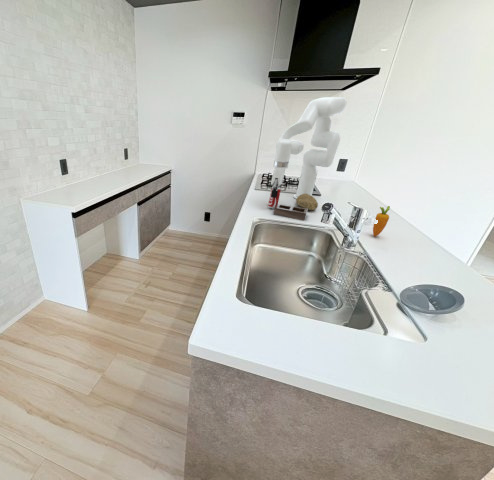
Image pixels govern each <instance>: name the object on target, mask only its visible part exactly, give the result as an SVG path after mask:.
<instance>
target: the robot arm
mask: <svg viewBox="0 0 494 480" xmlns="http://www.w3.org/2000/svg"><path fill="white" fill-rule="evenodd" d="M347 102H348V101H347V98H346V97H344V96H324V97H319V98H316V99H312V100H311V101H310V102H309V103H308V104H307V106H306V108H305V109H304V111H303V112H302V114H301V116H300V117H299V119H298V120H297V122H295V123H293V124H292V125H290V126H289V127H287V128H286V129H284V131H283V132H282V133H281V135H280V137H279V139H278V140H277V142H276V146H275V156H274V161H273V162H274V163H273V168H274V169H273V172H272V176H271V181H270V185H271V186H272V187H273V189H272V188H271V189H272V193H271V192H270V193H271V197H274V198H276V197H277V193H278V191H277V190H278V187H280V188H281V185H282V184H283V182H284V178H285V172H286V169H288V168H289V163H290V158H291V155H299V154H301V153H302V152H303V150H304V145H305V144H304V143H303V141H301V140H299V139H292V138H293V137H295V136H297V135H300V134H303V133H306V132H310V131H311V130H312V129H313V128H314V129H313V132H312V135H311V138H310V145H311V146H312V147H315V148H310V149H307V150H305V151H304V153H303V156H302V167H301V172H300V176H299V181H298V184H297V189H296V193H295V194H293V196H292V198H293V199H295V200H296V199H297V197H298V196H300V195H302V194H309V195H310V196H312V197H313V192H314V189H315V185H316V181H317V178H318V168H317V167H321V168H329V167H331V166H332V165H333V163H334V161H335V158H336V155H337V152H338V149H339V147H340V143H341V138H342V137H341V133H340V132H339V131H333V130H331V128H332V125H333V120H332V117H334V116H337V115H340V114H342V113H343V112H344V111H345V110H346V107H347ZM317 148H321V149H317ZM324 149H326V150H324Z"/></svg>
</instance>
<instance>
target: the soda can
mask: <svg viewBox="0 0 494 480" xmlns="http://www.w3.org/2000/svg"><path fill="white" fill-rule="evenodd" d="M272 189H273V186H272V187H271V189H270V194H269V200H268V203H267V204H268V205H267V207H268V208H270V209H275V207H276V206H277V205H278V204H279V201H280V197H281V191H282V189H281V186H280V187H278V190H277V191H278V193H277V197H276V198H274V197H271V193H272Z"/></svg>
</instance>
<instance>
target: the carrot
mask: <svg viewBox="0 0 494 480" xmlns="http://www.w3.org/2000/svg"><path fill="white" fill-rule="evenodd" d="M379 209H380V210H381V212H378V213H377V214H376V215H375V218H374V220H375V219H376V220H378V223H377V224H374V223H373V225H372V234H373V237H378V236H379V235H380V234H381V233H382V232H383V231H384V229H385V228H386V226H387V224H388V222H389V219H390V215H389V214H387V213H388V212H389V211H390V209H391V206H390V205H387V207H386V209H385V208H384V207H382V206H379Z"/></svg>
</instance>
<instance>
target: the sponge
mask: <svg viewBox="0 0 494 480" xmlns="http://www.w3.org/2000/svg"><path fill="white" fill-rule="evenodd" d="M295 202H296V204H297V205H298V207H300V208H306V209H308V211H314V210H316V209H317V208H318V206H319V203H318V201H317V199H316V198H315V197H314V196H313V195H312V196H310V195H309V194H302V195H300V196H298V197H297V199H295Z"/></svg>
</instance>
